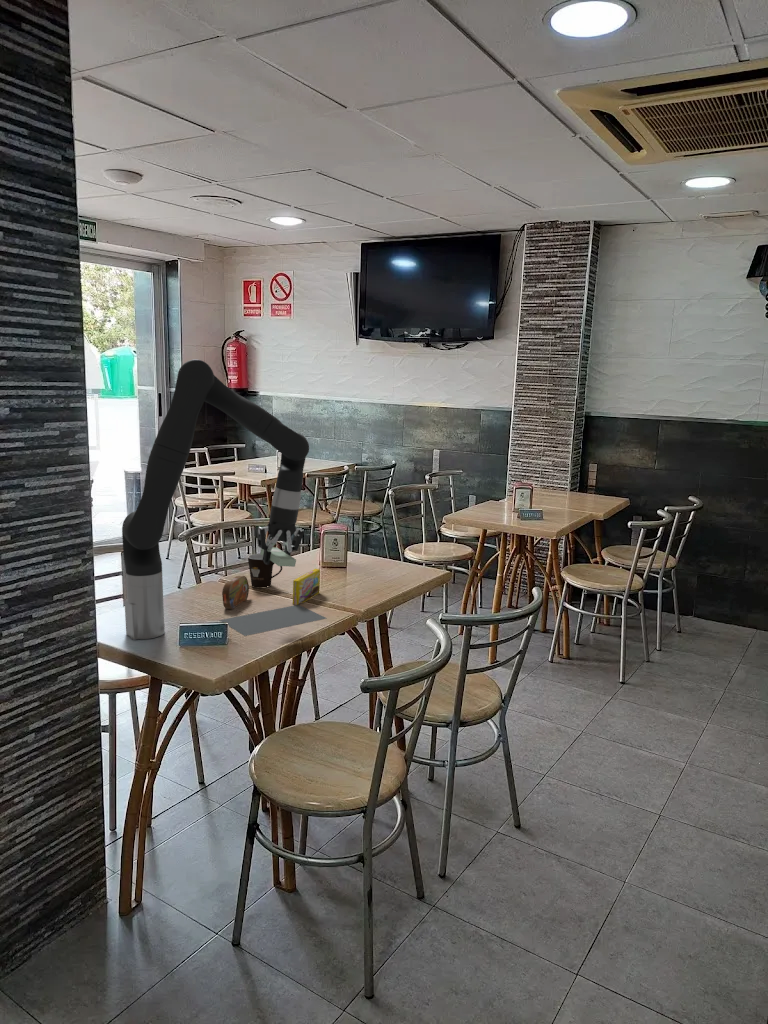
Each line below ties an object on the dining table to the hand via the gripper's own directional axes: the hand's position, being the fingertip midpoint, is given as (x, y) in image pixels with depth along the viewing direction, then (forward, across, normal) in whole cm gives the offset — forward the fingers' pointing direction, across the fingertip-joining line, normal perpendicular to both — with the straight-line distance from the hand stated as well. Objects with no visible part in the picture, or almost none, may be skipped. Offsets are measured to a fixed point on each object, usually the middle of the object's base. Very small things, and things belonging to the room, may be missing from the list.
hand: (275, 563), depth 204 cm
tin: (+20, 0, -20) cm, 28 cm away
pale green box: (-2, 0, +7) cm, 7 cm away
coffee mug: (+18, -16, -35) cm, 42 cm away
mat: (+17, -3, 0) cm, 17 cm away
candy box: (+16, -21, -14) cm, 30 cm away
